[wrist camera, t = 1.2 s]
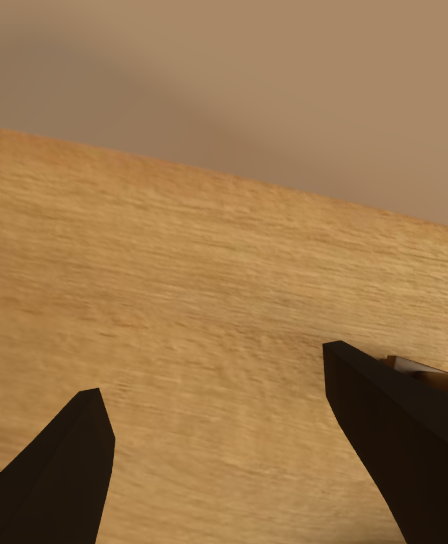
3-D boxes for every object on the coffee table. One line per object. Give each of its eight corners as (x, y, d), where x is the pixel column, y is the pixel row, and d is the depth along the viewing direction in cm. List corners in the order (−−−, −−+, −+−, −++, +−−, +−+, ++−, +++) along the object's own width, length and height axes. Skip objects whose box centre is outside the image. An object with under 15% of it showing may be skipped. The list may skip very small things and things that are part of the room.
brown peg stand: (438, 374, 28) (552, 386, 19) (432, 413, 27) (546, 444, 19) (378, 354, 28) (465, 358, 19) (370, 393, 27) (456, 415, 19)
